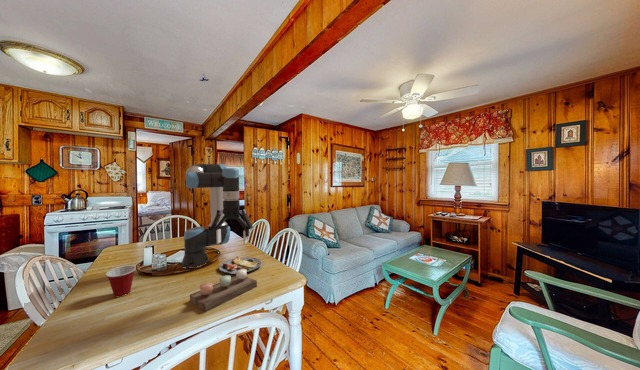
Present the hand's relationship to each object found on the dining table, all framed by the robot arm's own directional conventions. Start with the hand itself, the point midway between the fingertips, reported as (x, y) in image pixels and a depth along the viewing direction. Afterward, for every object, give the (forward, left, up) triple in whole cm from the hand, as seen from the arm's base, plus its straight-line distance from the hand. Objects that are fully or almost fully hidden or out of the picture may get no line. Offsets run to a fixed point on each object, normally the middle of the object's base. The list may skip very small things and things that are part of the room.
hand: (232, 243), depth 108 cm
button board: (0, -4, -24) cm, 24 cm away
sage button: (0, -4, -19) cm, 19 cm away
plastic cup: (-40, -33, -24) cm, 57 cm away
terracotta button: (0, -13, -19) cm, 23 cm away
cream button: (0, +5, -19) cm, 20 cm away
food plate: (-21, +19, -24) cm, 37 cm away
